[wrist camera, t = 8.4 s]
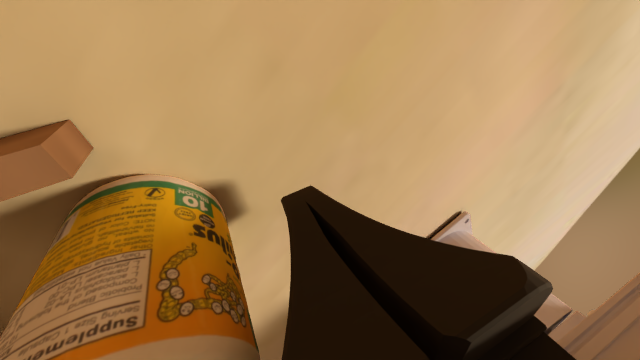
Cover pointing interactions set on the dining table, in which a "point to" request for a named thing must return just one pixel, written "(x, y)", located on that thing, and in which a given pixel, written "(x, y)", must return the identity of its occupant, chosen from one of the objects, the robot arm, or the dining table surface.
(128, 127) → the dining table surface
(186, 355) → the supplement bottle
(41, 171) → the brown wooden u-shaped frame
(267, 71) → the dining table surface
